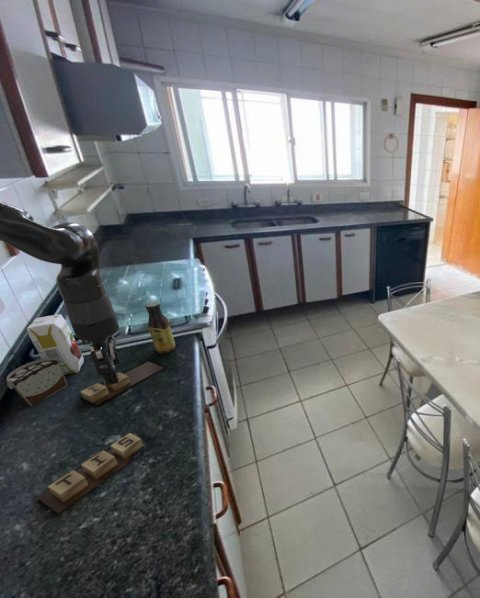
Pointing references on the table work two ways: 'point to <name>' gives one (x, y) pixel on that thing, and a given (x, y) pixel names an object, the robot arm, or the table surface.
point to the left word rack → (82, 480)
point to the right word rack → (119, 384)
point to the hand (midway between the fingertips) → (113, 373)
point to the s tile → (126, 445)
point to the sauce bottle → (160, 329)
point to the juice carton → (56, 342)
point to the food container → (37, 380)
